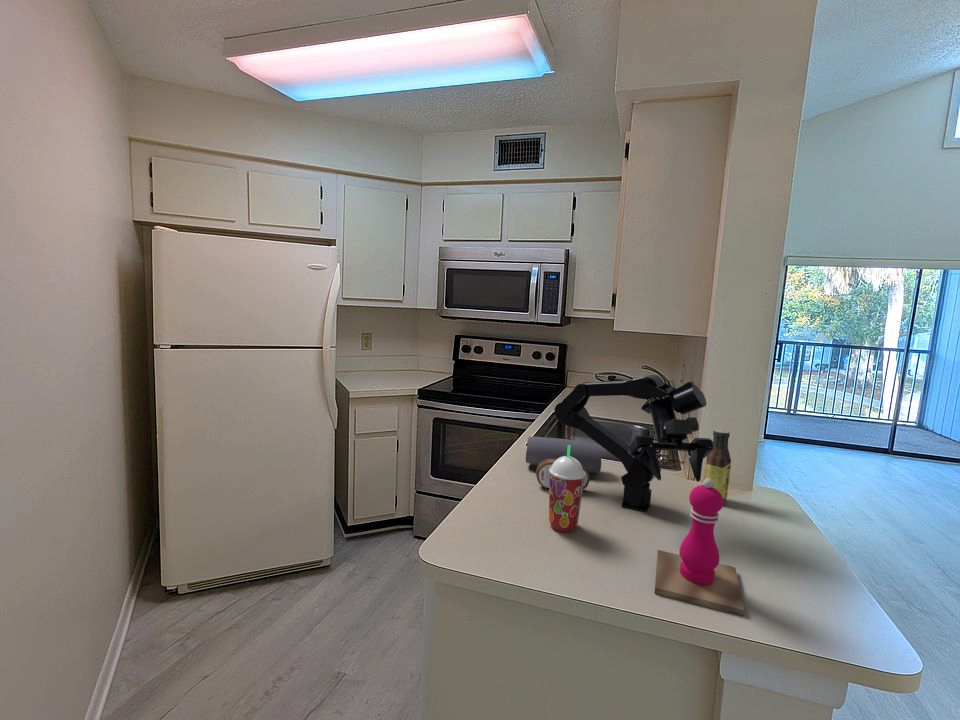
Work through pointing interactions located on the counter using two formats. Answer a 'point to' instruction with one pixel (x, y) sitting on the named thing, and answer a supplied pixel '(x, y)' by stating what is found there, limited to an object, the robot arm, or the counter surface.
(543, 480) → the tin
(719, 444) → the sauce bottle
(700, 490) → the pepper mill
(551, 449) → the bluetooth speaker
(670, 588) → the walnut board
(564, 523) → the smoothie
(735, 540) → the counter surface
